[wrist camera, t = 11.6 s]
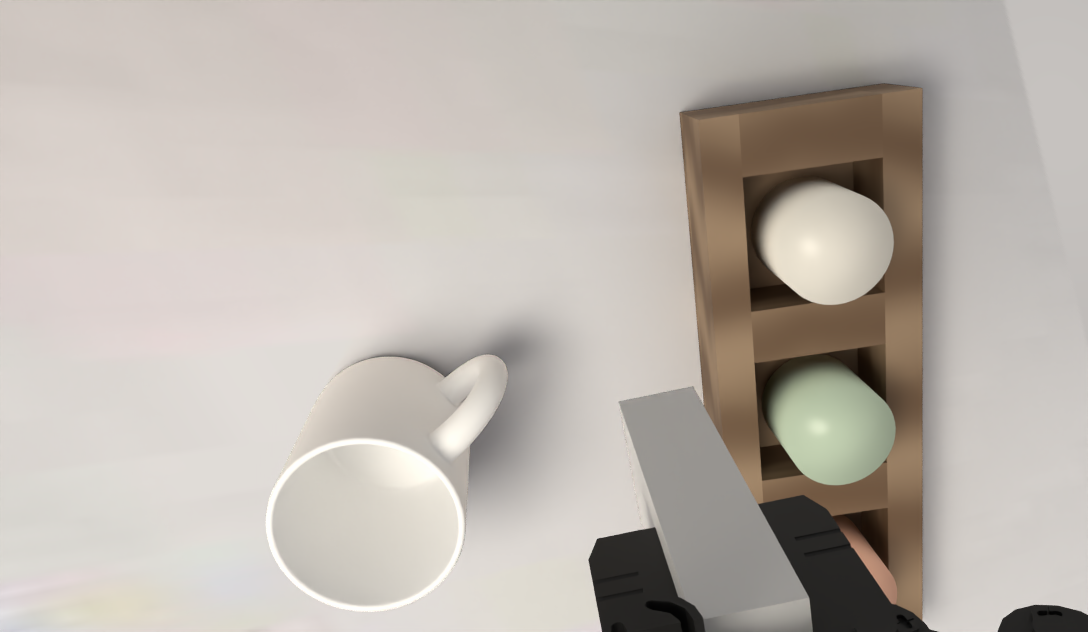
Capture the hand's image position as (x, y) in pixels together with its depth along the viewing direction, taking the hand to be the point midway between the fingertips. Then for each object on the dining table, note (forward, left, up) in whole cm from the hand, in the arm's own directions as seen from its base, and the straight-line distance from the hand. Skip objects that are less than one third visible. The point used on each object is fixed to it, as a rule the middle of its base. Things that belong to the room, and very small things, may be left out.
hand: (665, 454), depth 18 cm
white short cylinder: (+2, +11, -25) cm, 27 cm away
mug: (+9, -9, -27) cm, 30 cm away
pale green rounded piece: (+11, +11, -25) cm, 30 cm away
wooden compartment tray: (+11, +11, -27) cm, 31 cm away
